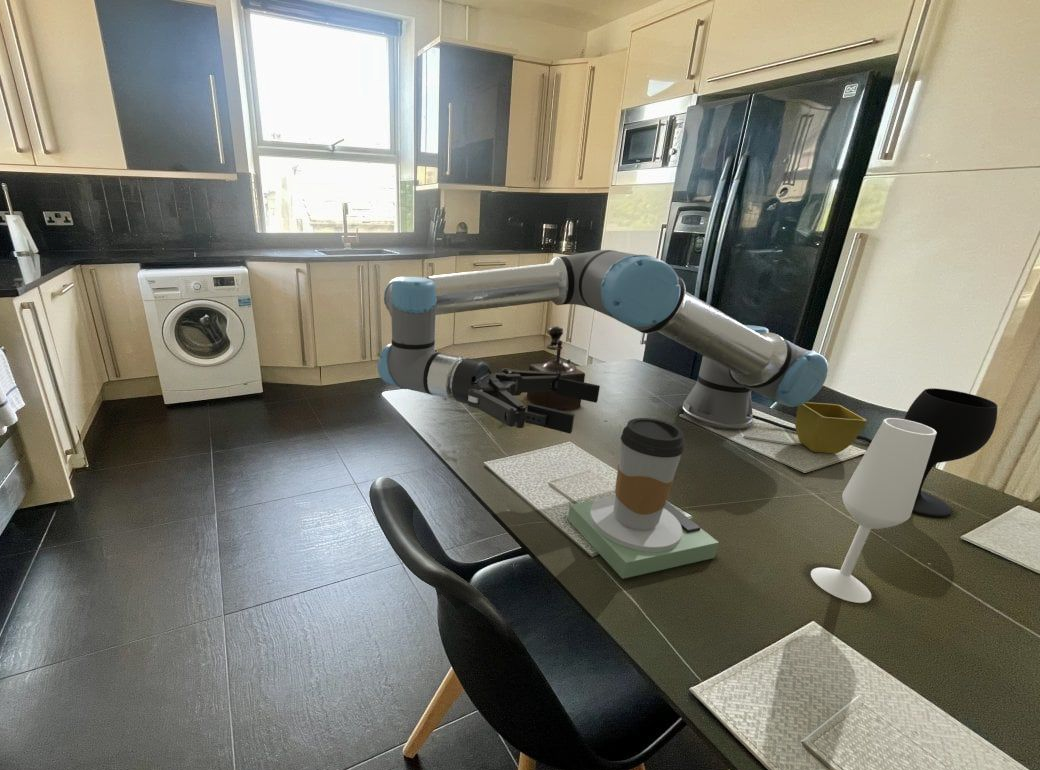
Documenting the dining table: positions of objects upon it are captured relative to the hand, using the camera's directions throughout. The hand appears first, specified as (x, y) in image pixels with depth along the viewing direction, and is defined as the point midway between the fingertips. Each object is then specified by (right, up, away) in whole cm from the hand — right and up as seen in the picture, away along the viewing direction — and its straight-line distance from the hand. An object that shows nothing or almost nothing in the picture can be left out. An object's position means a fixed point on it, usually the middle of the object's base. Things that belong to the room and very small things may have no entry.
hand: (586, 408), depth 71 cm
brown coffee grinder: (+7, +1, +56) cm, 57 cm away
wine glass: (+63, -17, +16) cm, 67 cm away
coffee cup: (+8, -17, +1) cm, 19 cm away
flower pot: (+61, -9, +34) cm, 71 cm away
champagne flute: (+33, -24, -5) cm, 42 cm away
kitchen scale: (+9, -20, +3) cm, 22 cm away
